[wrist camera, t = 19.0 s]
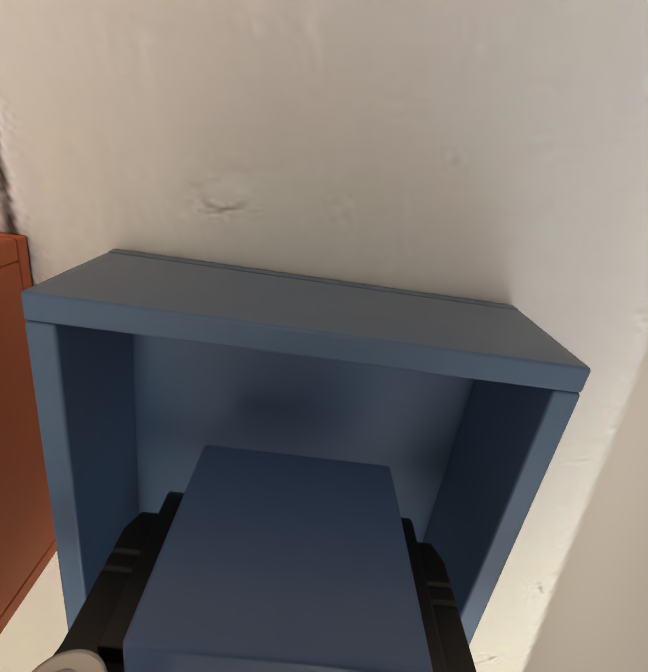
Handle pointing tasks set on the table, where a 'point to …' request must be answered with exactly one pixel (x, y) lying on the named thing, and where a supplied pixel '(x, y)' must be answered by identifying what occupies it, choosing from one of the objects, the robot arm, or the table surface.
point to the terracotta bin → (19, 443)
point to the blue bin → (290, 400)
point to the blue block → (281, 572)
